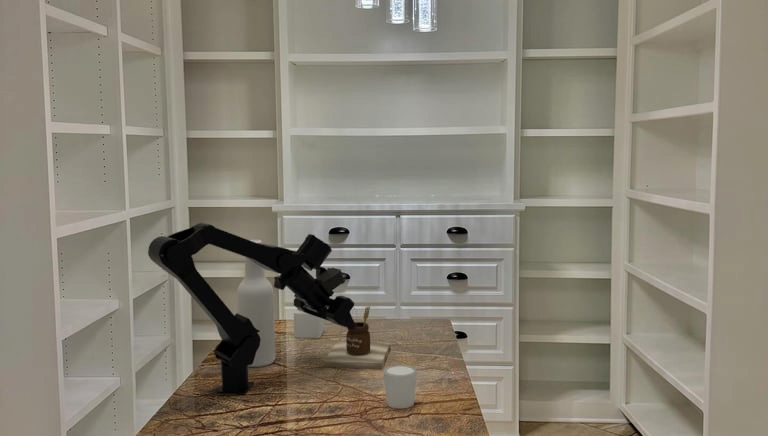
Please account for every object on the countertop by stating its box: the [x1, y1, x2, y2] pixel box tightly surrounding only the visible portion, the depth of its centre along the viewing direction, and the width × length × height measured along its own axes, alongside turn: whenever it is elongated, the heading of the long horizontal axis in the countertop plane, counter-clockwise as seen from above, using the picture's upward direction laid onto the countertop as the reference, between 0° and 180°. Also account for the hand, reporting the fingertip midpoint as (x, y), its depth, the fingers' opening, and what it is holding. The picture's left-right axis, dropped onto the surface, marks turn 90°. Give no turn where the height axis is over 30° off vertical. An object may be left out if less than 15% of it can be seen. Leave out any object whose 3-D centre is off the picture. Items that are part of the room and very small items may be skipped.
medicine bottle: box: [293, 308, 325, 339], centre depth 186 cm, size 7×7×12 cm
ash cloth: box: [323, 340, 391, 370], centre depth 167 cm, size 16×14×2 cm
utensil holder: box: [345, 306, 371, 355], centre depth 165 cm, size 6×6×12 cm
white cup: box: [383, 364, 418, 410], centre depth 137 cm, size 7×7×7 cm
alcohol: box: [236, 239, 277, 368], centre depth 162 cm, size 9×9×30 cm
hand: (343, 324), depth 163 cm, fingers open, 9 cm apart
